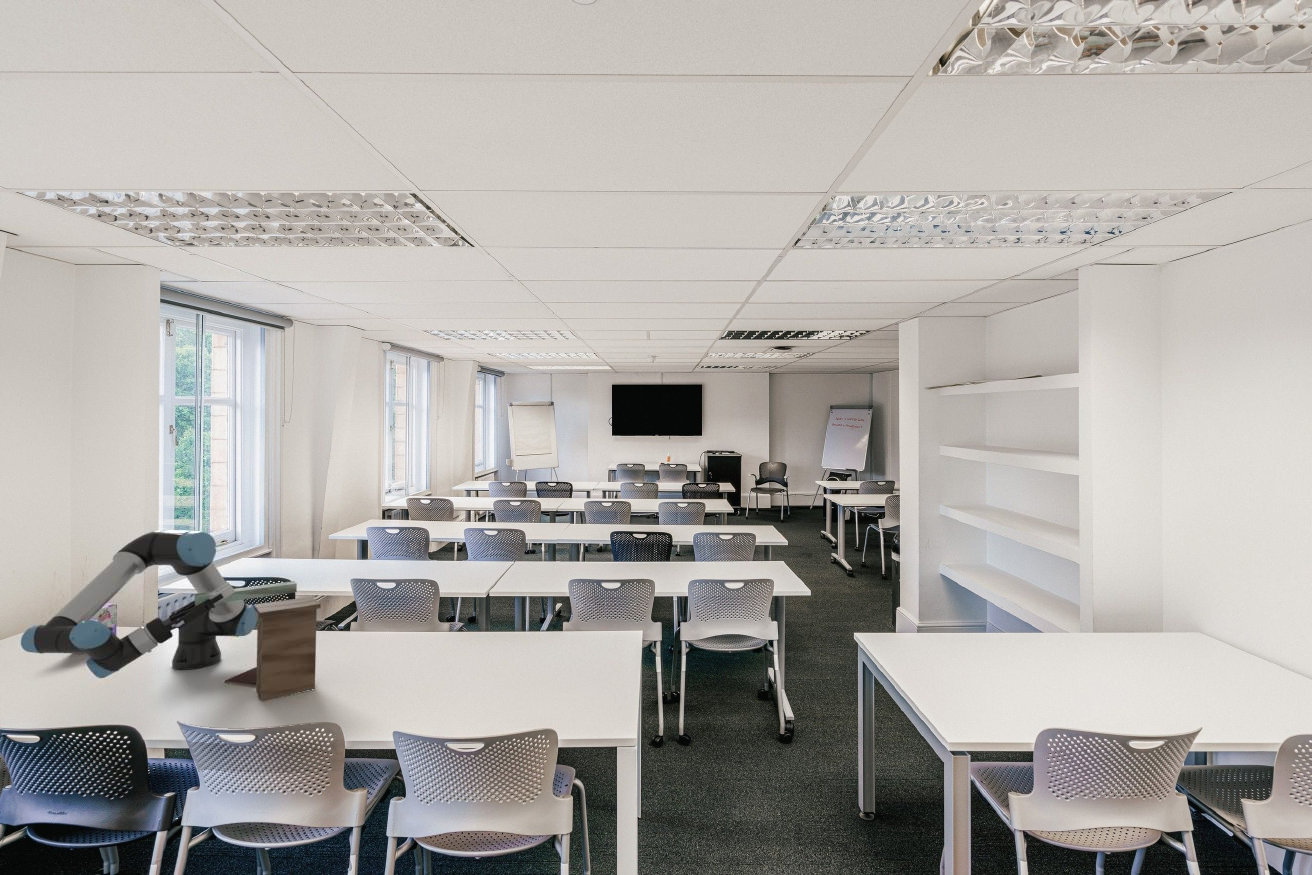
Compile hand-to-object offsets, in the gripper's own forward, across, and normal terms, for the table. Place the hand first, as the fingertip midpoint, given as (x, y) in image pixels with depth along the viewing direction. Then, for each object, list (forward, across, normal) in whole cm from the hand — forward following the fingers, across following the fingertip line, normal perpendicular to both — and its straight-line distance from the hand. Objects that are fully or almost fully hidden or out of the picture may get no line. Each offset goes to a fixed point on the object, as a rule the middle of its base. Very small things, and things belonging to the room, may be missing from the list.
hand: (231, 586), depth 203 cm
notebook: (-8, -21, -41) cm, 47 cm away
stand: (-5, -1, -42) cm, 42 cm away
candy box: (-49, -93, -16) cm, 107 cm away
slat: (+2, 0, -6) cm, 6 cm away
